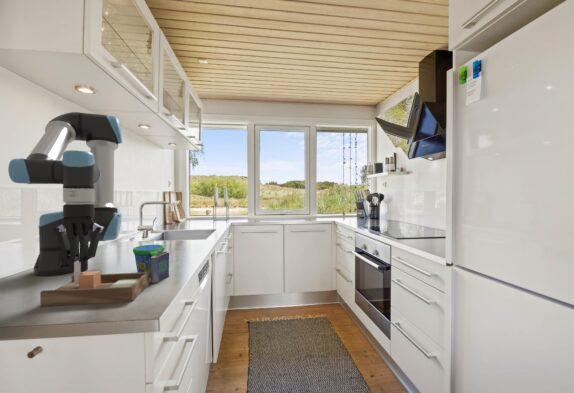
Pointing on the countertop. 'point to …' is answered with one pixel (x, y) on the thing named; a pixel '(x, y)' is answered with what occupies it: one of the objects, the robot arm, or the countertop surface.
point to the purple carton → (159, 266)
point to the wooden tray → (98, 290)
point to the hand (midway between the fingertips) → (79, 282)
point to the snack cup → (145, 256)
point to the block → (89, 279)
